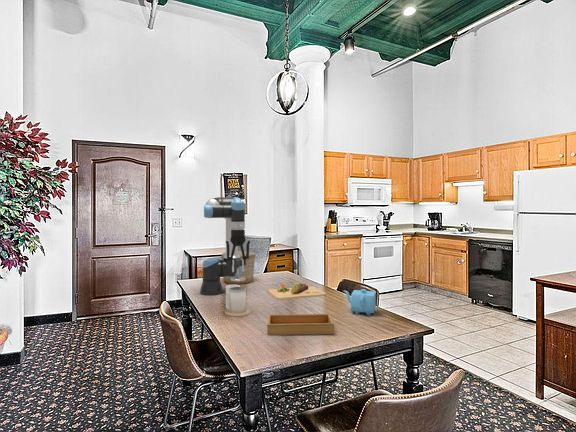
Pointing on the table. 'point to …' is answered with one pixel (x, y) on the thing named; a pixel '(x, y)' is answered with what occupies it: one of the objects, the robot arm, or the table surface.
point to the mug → (230, 287)
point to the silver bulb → (237, 271)
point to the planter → (247, 269)
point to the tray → (300, 324)
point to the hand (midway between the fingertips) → (237, 271)
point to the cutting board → (296, 292)
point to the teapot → (362, 301)
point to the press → (236, 302)
